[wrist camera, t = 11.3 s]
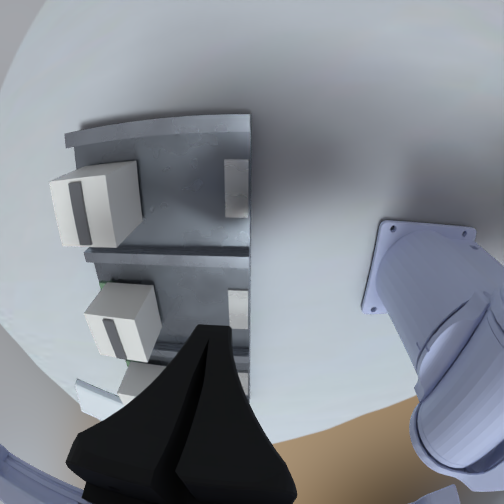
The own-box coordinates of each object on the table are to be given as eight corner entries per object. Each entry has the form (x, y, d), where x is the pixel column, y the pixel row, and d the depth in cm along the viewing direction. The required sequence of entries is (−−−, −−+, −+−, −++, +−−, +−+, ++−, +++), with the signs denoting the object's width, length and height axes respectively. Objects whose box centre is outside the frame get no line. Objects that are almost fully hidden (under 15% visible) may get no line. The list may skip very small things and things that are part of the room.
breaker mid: (153, 285, 20) (133, 321, 17) (162, 326, 22) (146, 364, 18) (107, 282, 21) (82, 315, 17) (119, 322, 22) (99, 356, 19)
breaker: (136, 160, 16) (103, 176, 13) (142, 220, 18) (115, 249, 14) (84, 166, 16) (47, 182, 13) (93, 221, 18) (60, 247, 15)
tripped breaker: (169, 366, 24) (158, 402, 21) (177, 391, 26) (168, 425, 23) (130, 361, 25) (116, 394, 21) (140, 386, 26) (129, 417, 23)
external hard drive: (79, 375, 30) (167, 410, 32) (85, 404, 34) (161, 433, 35) (74, 384, 29) (164, 420, 30) (81, 412, 32) (159, 442, 34)
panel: (251, 114, 16) (249, 114, 14) (249, 398, 29) (248, 415, 27) (82, 130, 17) (64, 133, 15) (144, 388, 29) (138, 403, 27)
